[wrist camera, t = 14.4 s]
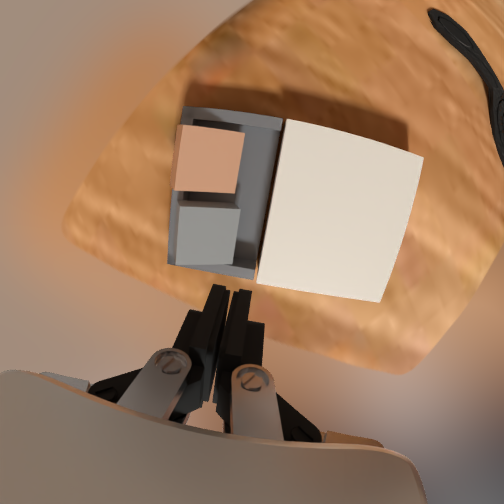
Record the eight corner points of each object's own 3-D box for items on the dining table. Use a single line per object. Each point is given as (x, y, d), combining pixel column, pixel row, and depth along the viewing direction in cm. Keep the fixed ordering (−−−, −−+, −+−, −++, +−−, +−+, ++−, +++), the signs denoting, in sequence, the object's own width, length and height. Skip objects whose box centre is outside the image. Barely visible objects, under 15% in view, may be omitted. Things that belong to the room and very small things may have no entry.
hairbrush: (455, -8, 12) (560, 174, 17) (441, 4, 16) (543, 170, 20) (419, 16, 15) (536, 214, 19) (405, 29, 18) (518, 207, 23)
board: (285, 121, 22) (287, 118, 20) (408, 155, 22) (423, 157, 20) (257, 268, 28) (256, 283, 25) (370, 287, 28) (379, 302, 25)
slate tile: (240, 209, 23) (233, 202, 25) (179, 206, 21) (177, 200, 23) (232, 264, 25) (226, 254, 27) (175, 264, 23) (173, 254, 25)
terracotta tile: (245, 133, 21) (235, 132, 22) (183, 124, 19) (177, 124, 20) (234, 193, 23) (225, 188, 24) (174, 190, 20) (169, 185, 22)
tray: (191, 109, 22) (183, 106, 20) (281, 120, 22) (282, 118, 20) (175, 253, 28) (167, 263, 25) (254, 267, 28) (253, 279, 25)
